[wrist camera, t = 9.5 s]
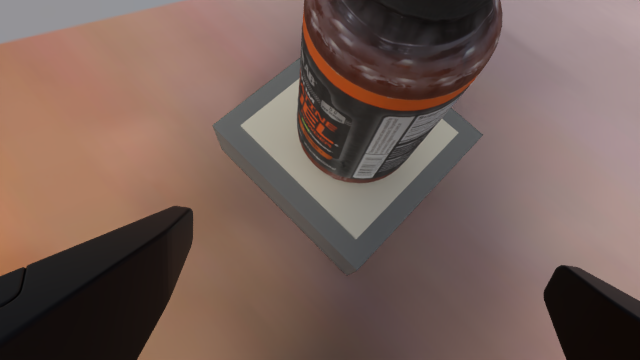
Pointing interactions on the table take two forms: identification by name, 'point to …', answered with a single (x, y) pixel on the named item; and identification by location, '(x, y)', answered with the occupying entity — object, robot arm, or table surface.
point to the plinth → (321, 189)
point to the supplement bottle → (385, 77)
